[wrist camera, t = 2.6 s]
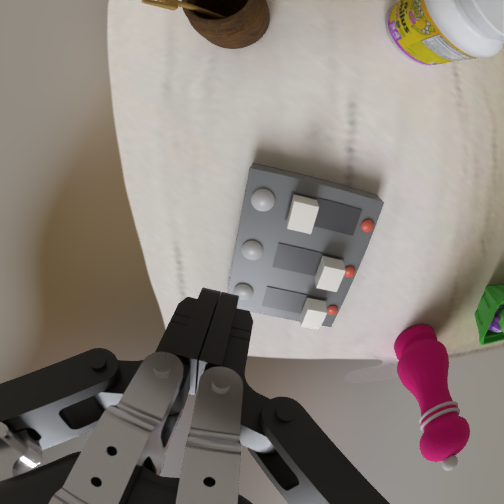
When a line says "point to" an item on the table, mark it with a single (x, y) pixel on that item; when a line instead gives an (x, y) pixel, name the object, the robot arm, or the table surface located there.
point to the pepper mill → (431, 394)
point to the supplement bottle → (446, 29)
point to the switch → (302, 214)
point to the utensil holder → (224, 19)
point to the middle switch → (329, 274)
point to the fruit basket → (491, 315)
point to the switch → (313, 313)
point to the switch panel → (297, 242)
